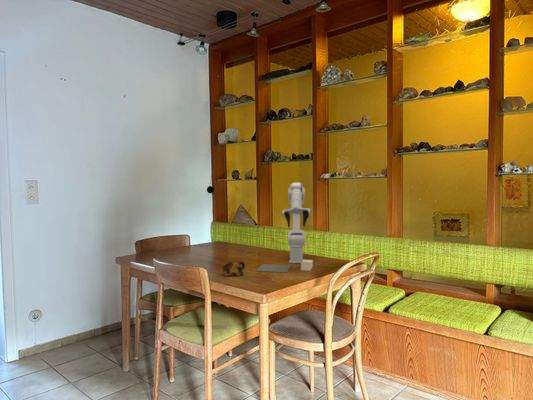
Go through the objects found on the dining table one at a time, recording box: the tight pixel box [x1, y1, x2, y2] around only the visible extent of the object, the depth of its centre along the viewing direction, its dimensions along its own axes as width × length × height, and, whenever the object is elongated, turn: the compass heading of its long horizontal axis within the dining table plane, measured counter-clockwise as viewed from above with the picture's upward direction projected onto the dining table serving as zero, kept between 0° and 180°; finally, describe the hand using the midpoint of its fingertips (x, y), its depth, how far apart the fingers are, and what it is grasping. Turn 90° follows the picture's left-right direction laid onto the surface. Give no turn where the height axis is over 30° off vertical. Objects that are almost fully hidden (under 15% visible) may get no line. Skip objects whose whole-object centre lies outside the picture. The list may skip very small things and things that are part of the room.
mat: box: [255, 263, 293, 274], centre depth 214 cm, size 16×16×1 cm
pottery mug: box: [222, 260, 246, 278], centre depth 202 cm, size 12×10×8 cm
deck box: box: [300, 259, 314, 272], centre depth 214 cm, size 9×5×4 cm, turn 166°
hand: (296, 226), depth 203 cm, fingers open, 7 cm apart
